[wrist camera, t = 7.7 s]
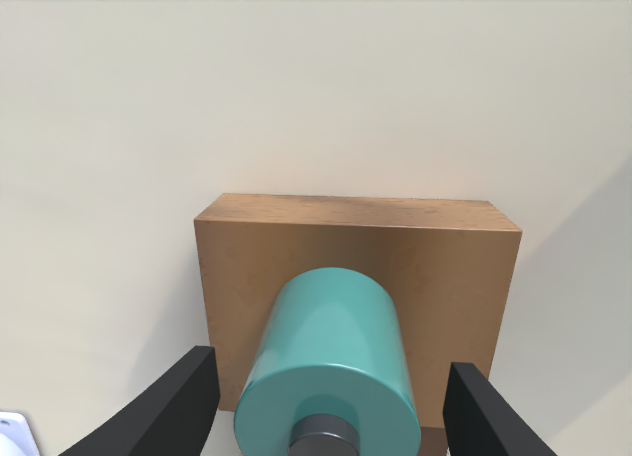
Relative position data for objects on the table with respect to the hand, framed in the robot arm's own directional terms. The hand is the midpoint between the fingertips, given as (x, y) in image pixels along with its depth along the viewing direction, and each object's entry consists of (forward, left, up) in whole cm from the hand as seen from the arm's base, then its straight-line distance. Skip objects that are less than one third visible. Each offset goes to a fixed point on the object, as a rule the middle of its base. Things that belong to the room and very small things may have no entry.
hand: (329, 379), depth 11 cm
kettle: (0, 0, -3) cm, 3 cm away
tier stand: (+1, -5, -6) cm, 8 cm away
